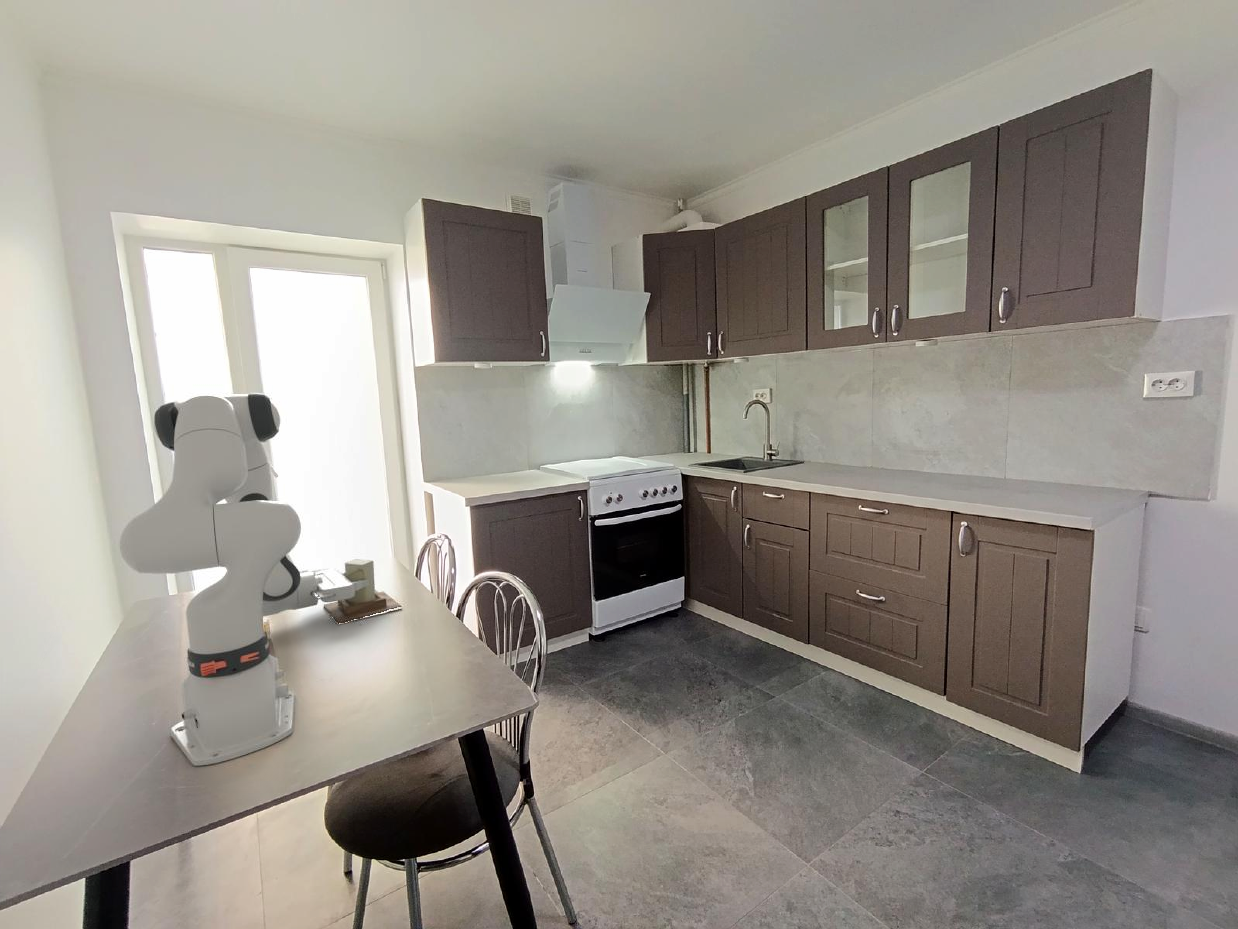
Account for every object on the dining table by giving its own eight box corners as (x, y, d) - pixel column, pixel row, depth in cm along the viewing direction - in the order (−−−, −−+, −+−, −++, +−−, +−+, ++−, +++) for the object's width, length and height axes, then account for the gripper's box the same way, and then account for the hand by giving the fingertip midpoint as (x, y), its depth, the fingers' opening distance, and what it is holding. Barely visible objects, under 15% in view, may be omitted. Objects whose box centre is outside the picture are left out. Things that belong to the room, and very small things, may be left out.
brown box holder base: (401, 609, 156) (400, 598, 156) (338, 625, 146) (337, 613, 146) (383, 594, 169) (382, 584, 168) (323, 608, 159) (322, 597, 158)
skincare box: (346, 606, 156) (343, 563, 155) (358, 601, 160) (355, 558, 159) (365, 608, 154) (362, 564, 153) (377, 602, 158) (373, 560, 157)
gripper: (314, 587, 140) (373, 575, 149) (298, 569, 156) (352, 559, 164) (317, 612, 141) (375, 598, 149) (300, 592, 156) (354, 581, 165)
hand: (363, 578), depth 157 cm, fingers open, 8 cm apart
